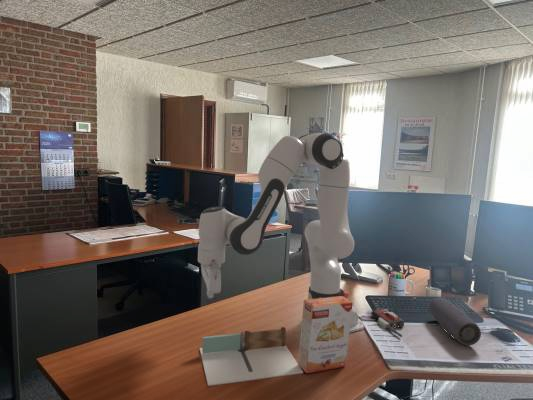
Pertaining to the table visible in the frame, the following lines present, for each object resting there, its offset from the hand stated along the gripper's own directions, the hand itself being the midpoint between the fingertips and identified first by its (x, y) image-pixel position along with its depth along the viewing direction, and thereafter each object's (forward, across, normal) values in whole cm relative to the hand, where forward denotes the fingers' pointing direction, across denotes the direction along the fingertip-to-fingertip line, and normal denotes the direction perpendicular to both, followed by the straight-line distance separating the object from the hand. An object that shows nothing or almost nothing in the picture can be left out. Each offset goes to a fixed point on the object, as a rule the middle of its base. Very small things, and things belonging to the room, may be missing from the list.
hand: (210, 296), depth 128 cm
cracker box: (+15, -23, -32) cm, 42 cm away
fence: (+15, -9, -17) cm, 25 cm away
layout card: (+15, -15, -10) cm, 24 cm away
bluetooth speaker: (+15, -12, -88) cm, 91 cm away
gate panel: (+15, -9, -3) cm, 18 cm away
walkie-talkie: (+15, -2, -70) cm, 71 cm away
